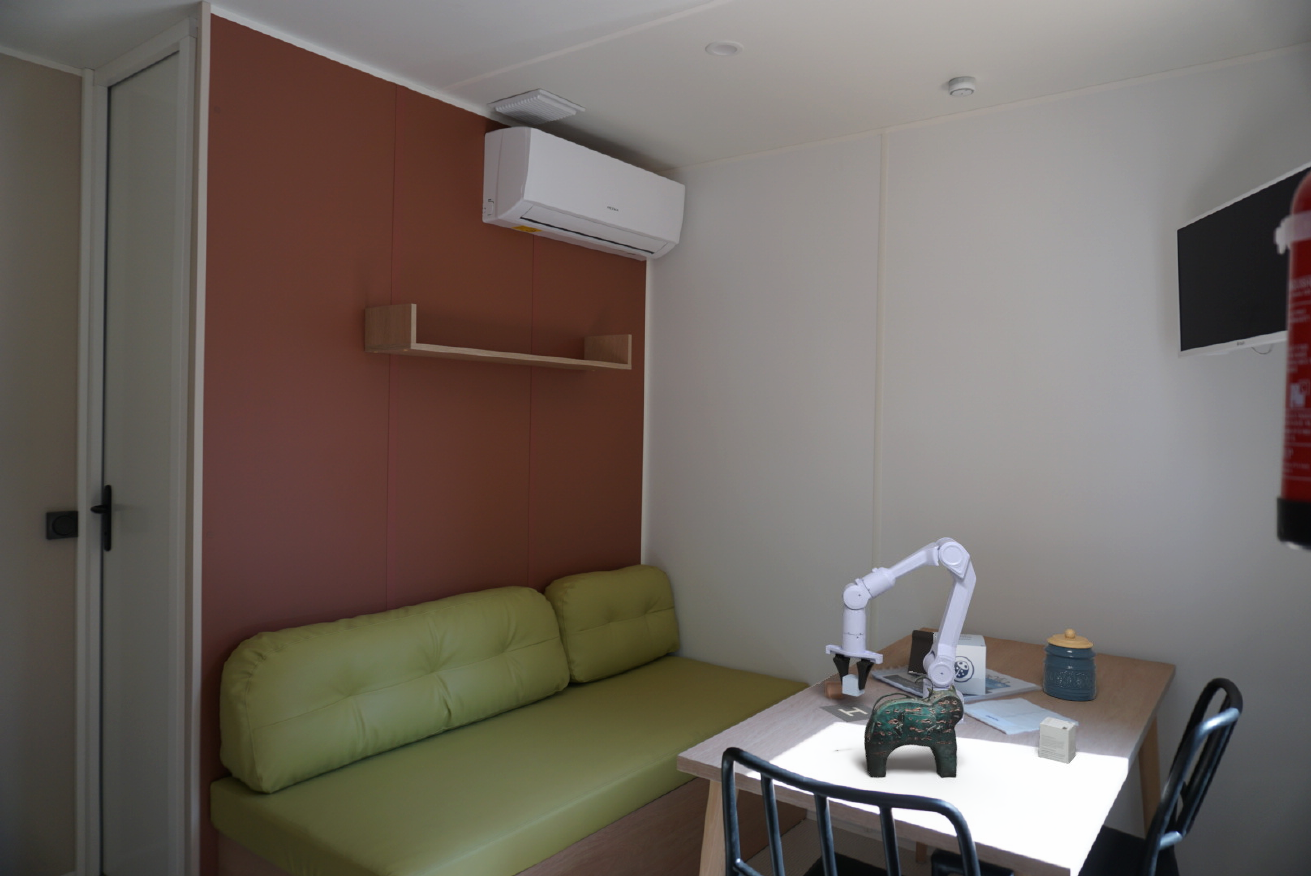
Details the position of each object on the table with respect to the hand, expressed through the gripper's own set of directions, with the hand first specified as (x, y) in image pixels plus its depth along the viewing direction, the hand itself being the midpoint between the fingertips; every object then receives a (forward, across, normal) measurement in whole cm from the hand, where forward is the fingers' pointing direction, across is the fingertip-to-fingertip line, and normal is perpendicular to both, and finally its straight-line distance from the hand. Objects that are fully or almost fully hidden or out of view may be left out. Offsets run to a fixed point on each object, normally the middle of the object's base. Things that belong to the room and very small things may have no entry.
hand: (853, 687), depth 208 cm
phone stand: (+7, +2, -48) cm, 49 cm away
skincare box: (+7, -46, -4) cm, 47 cm away
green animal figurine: (+7, -27, +26) cm, 38 cm away
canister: (+7, -36, -55) cm, 66 cm away
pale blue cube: (+2, 0, 0) cm, 2 cm away
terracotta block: (+7, +10, -8) cm, 14 cm away
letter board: (+7, 0, 0) cm, 7 cm away
